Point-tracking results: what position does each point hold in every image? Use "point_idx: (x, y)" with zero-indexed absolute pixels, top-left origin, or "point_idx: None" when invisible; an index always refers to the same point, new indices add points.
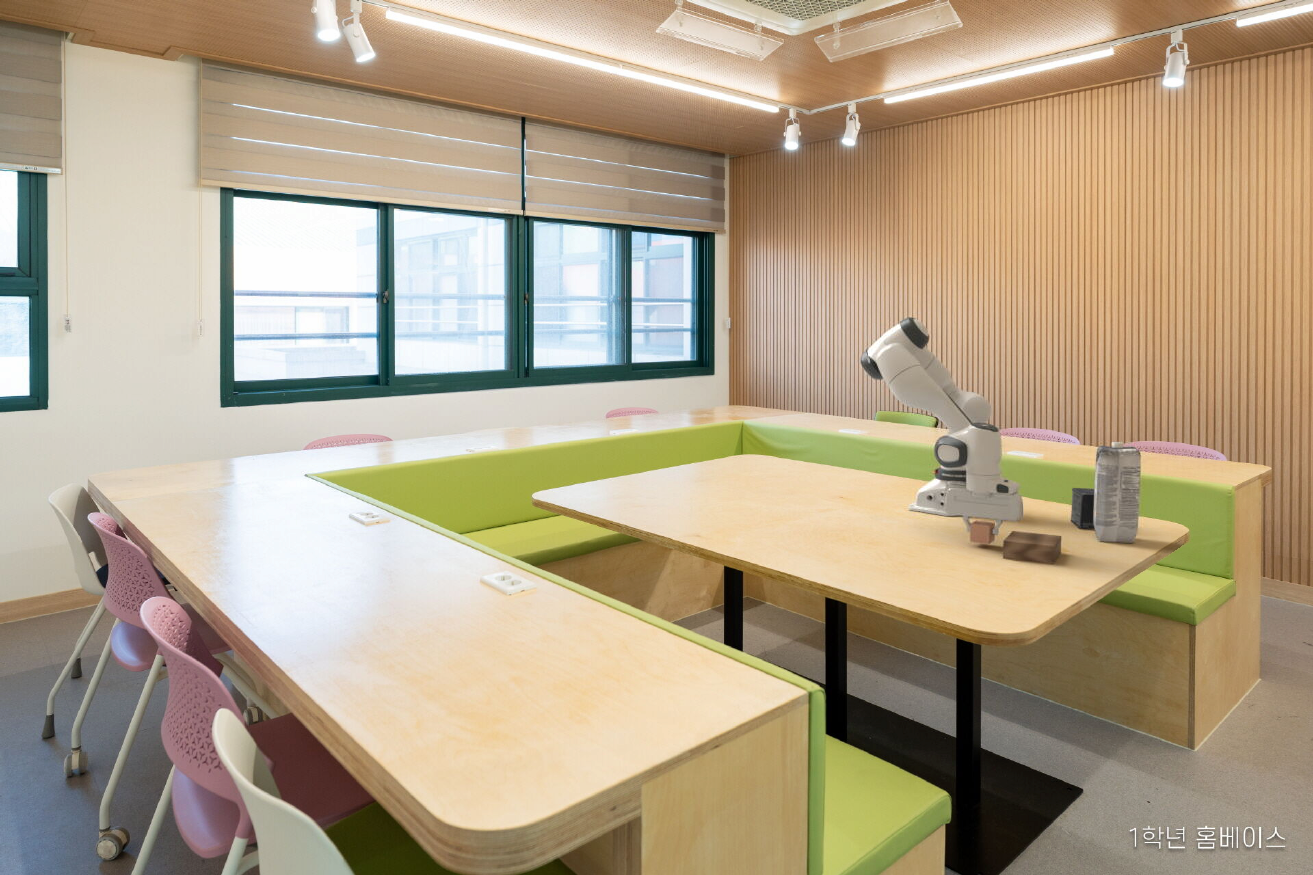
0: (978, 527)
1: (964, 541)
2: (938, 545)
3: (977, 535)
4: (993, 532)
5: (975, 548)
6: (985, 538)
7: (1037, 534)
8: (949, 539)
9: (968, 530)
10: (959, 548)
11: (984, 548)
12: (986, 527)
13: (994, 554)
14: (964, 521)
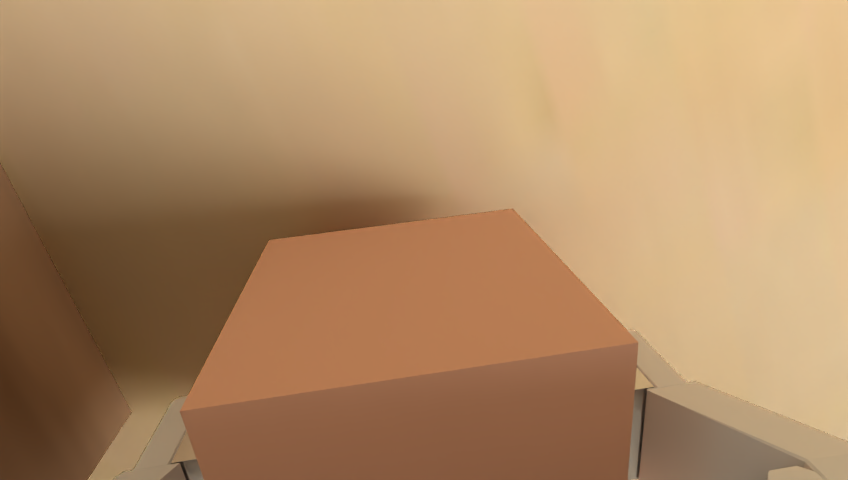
0: (438, 335)
1: None
2: (827, 6)
3: (433, 259)
4: None
5: (413, 151)
6: (309, 264)
7: None
8: (758, 326)
9: None
10: (570, 25)
11: (333, 216)
12: (258, 369)
13: (74, 2)
14: (797, 424)
